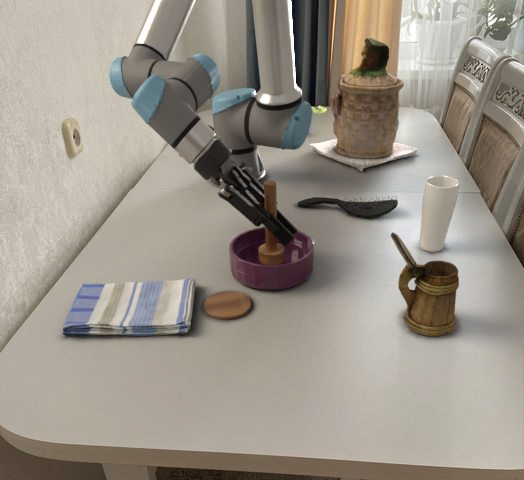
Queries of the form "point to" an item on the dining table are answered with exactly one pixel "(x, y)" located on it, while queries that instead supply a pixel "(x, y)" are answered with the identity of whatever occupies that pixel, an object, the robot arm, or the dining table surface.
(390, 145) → the cookie jar
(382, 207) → the hairbrush
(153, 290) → the dish towel
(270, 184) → the dish brush
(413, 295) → the wooden mug
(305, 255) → the bowl
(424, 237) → the white tumbler
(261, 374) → the dining table surface
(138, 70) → the robot arm
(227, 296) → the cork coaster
